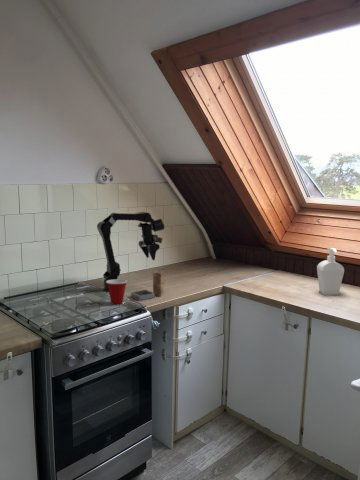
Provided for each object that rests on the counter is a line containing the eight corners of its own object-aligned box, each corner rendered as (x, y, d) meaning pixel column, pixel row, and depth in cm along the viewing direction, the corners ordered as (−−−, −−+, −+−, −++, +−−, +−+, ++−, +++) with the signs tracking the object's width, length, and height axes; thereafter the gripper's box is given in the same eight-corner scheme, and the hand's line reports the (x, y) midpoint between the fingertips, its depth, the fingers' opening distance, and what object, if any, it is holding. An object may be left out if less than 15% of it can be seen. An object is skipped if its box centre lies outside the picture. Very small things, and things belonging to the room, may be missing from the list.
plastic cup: (128, 299, 223) (128, 277, 221) (126, 306, 212) (126, 283, 210) (107, 299, 222) (107, 277, 220) (105, 306, 212) (104, 283, 210)
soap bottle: (321, 296, 231) (324, 250, 226) (315, 290, 240) (318, 246, 236) (344, 296, 231) (347, 250, 227) (336, 290, 241) (339, 246, 237)
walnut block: (153, 295, 229) (153, 272, 227) (156, 293, 234) (156, 270, 231) (160, 296, 228) (160, 273, 226) (163, 294, 232) (163, 271, 230)
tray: (139, 301, 220) (139, 296, 220) (131, 296, 228) (131, 292, 227) (154, 297, 226) (154, 293, 225) (145, 293, 233) (145, 289, 233)
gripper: (166, 232, 240) (169, 258, 244) (153, 228, 257) (156, 253, 260) (148, 236, 236) (152, 263, 239) (136, 232, 252) (140, 257, 256)
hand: (150, 258), depth 249 cm, fingers open, 9 cm apart
